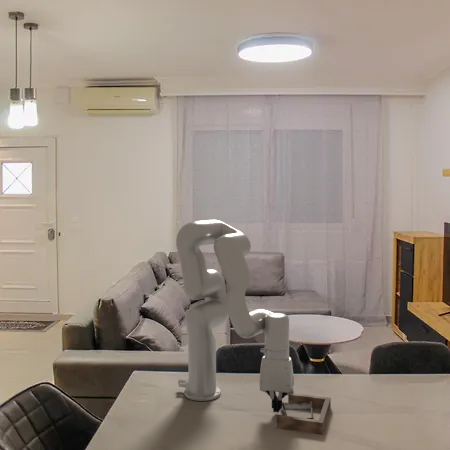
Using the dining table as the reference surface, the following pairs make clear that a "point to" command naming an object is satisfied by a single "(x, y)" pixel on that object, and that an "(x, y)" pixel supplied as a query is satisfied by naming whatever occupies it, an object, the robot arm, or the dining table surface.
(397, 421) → the dining table surface
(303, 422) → the frame
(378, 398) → the dining table surface
